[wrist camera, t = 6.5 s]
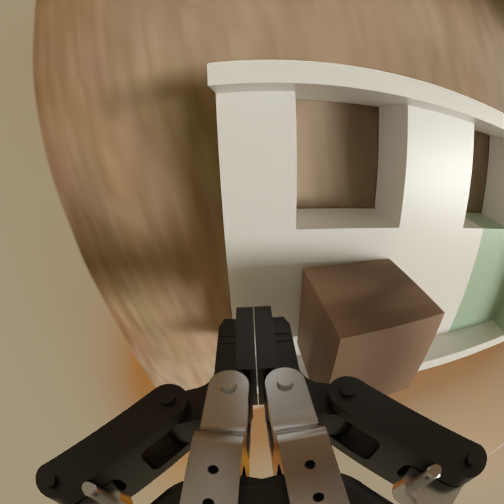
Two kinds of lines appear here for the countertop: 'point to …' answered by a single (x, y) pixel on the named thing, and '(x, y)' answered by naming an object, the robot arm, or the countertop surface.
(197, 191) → the countertop surface
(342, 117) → the countertop surface
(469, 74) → the countertop surface
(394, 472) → the robot arm
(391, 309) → the walnut block
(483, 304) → the track
